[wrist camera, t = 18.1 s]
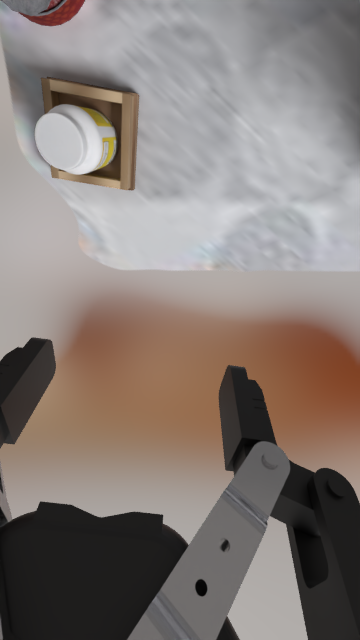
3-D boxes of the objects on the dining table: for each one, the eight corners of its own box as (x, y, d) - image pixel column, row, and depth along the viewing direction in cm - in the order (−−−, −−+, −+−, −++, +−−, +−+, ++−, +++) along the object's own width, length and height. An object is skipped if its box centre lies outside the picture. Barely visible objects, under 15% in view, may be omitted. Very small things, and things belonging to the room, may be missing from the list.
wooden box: (139, 95, 29) (133, 91, 26) (134, 188, 34) (129, 193, 31) (51, 78, 28) (37, 72, 26) (60, 176, 33) (49, 179, 31)
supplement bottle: (61, 117, 29) (11, 110, 21) (108, 102, 28) (74, 90, 20) (82, 172, 32) (45, 185, 24) (125, 161, 31) (102, 170, 23)
